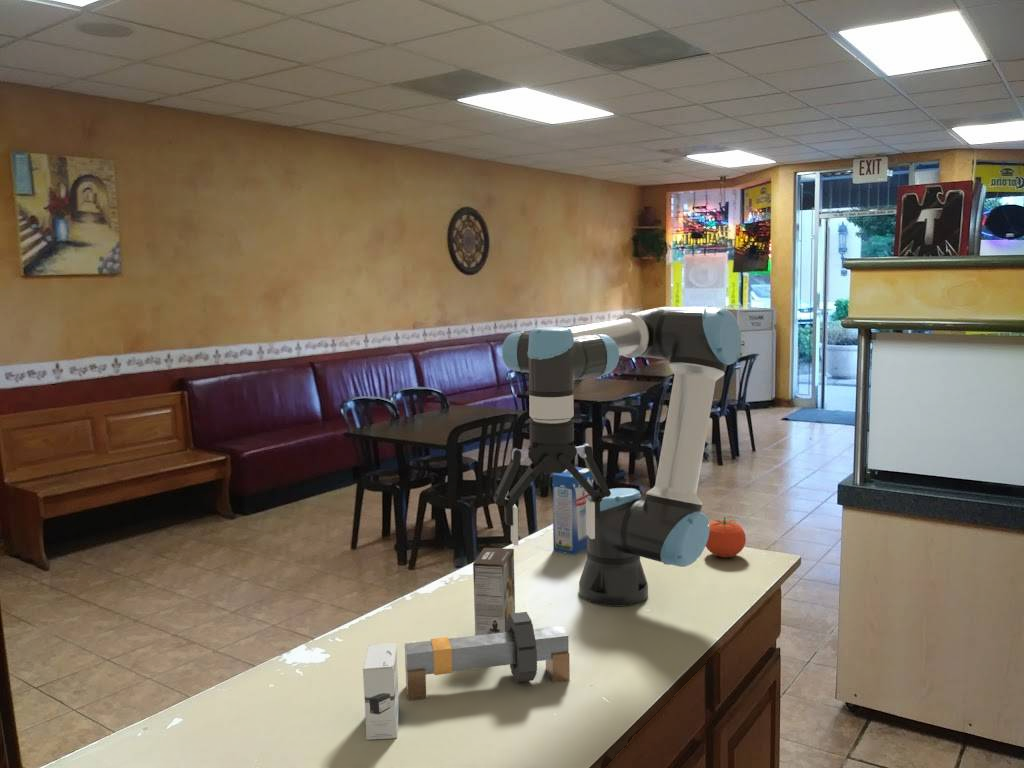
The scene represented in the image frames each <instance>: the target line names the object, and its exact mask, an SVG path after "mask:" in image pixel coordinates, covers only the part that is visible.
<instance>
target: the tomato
mask: <svg viewBox="0 0 1024 768" xmlns="http://www.w3.org/2000/svg"><path fill="white" fill-rule="evenodd" d="M708 525H709V526H710V531H709V537H708V541H707V544H706V546H705V548H706V549H707V550H708V551H709V552H710V553H711V554H713V555H715V556H716V557H720V558H731V557H734V556H736V555H738V554H739V553H741V552H742V550H743V549H744V547H745V545H746V542H747V541H746V537H747V536H746V534H745V531H744V529H743V528H742V526H741V525H740V524H738V523H737V522H736V521H735V520H732V519H730V520H729V519H726V517H724V518H723V519H714V520H713V521H712V522H709V524H708Z"/></svg>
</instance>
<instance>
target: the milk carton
mask: <svg viewBox="0 0 1024 768" xmlns="http://www.w3.org/2000/svg"><path fill="white" fill-rule="evenodd" d="M574 467H575V468H576V469H577V470H578V471H579V472H580V474H581V475H582V476H583V477H584V478H585V479H586V480H587V481H588V483H589V484H590V485H591V486H592V487H593V488H594V478H593V476H592V474H591V472H590V470H589V469H588V467H587V468H586V467H580V466H574ZM589 496H590V495H589V494H588V493H587V492H586V491H585V489H584V488H583V487H582V486H581V485H580V484H579V483H578V482H577V480H576V479H575V478H574V477H573V476H572V475H571V474H570V473H569V472H568V471H567V469H566V470H565V471H564V472H562V473H552V528H553V529H552V530H553V531H552V533H553V534H552V535H553V536H552V537H553V538H552V539H553V540H552V541H553V542H552V543H553V551H554V552H559V553H563V554H569V555H577V554H578V553H581V552H582V551H584V550H587V534H586V498H589Z"/></svg>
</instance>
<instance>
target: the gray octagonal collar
mask: <svg viewBox="0 0 1024 768" xmlns="http://www.w3.org/2000/svg"><path fill="white" fill-rule="evenodd" d="M534 629H535V628H534V625H533V623H532V619H531V617H530V615H529V613H528V612H527V611H523V612H521V611H520V612H515V613H510V614H509V616H508V619H507V624H506V631H507V632H513V631H514V635H515V641H516V647H517V664H510V665H509V668H510V672H511V674H512V677H513V679H514V682H515V683H522V682H523V683H524V682H530V681H531V682H532V681H534V679H535V678H536V675H537V673H538V672H537V671H538V661H537V649H536V641H535V635H534Z"/></svg>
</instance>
